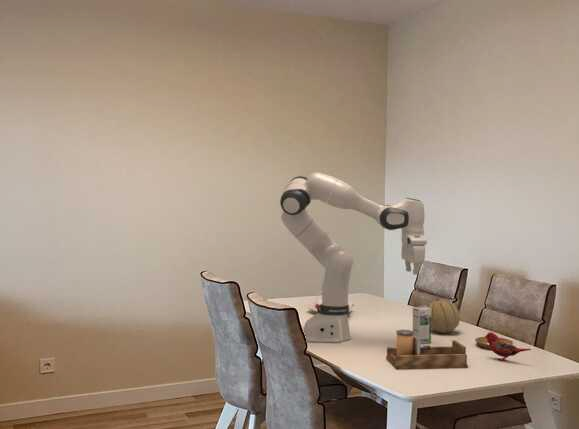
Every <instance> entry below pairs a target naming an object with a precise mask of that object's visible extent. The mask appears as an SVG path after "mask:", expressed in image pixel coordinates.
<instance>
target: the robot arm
mask: <svg viewBox="0 0 579 429" xmlns="http://www.w3.org/2000/svg"><path fill="white" fill-rule="evenodd" d="M283 190H284V191H283V193H282V195H281V196H280V201H279V204H280V207H281V210H282V212H281V213H282V214H281V216H280V217H281V221H282V223H283V225H284V226H285V228H286V229H287V230H288V231H289V232H290V233H291V235H292V236H294V238H296V240H297V241H298V242H299V243H300V244H301V245H302V246H303V247H305V248H306V250H307V251H308V252H309V254H311V255H312V257H314V259H315V260H316V261H318V263H319V264H320V265H321V267H323V268H324V269H325V270H324V277H323V282H322V284H321V285H322V287H321V295H322V304H321V305H319V304H316V305H315V308H316V309H317V312H316V313H315V314H314V315H312V317H311V316H310V318H309V319H307V320H305V323H304V326H303V331H304V333H305V336H306V340H307V341H306V343H308V342H311V343H313V342H314V343H315V342H316V343H342V342H344V341H349V340H351V338H352V335H351V331H350V325H349V317H350V310H349V305H348V301H349V285H350V284H349V283H350V278H351V273H352V267H353V264H354V261H353V256H352V254H351V253H350V251H348V249H346V248H343V247H341V246H339V244H337V242H335V240H334V239H333V238H332V237H331V236H330V234H329V233H328V232H327V230H326V229H325V228H324V227H323V226H322V225H321V224H320V223H318V221H317V220H315V218H314V217H313V216H312V215H311V214H309V212H308V211H307V209H306V208H307V207H308V206H309V205H310V204H311V201H314V200H317V201H320V202H322V203H323V204H326V205H329V206H331V207H334V208H337V209H342V210H353V211H357V212H359V213H361V214H364V215H365V216H368V217H370V218H372V219H374V220H375V222H377V223H378V224H379V225H380V226H381V227H382V229H383V228H384V229H386V230H388V231H396V230H399V229H401V259H402V260H404V264H405V271H406V272H411V271H412V274H413V275H415V276H418V275H419V269H420V265H424V263H425V261H426V260H425V257H426V245H428V244H427V242H428V240H427V239H426V236H425V229H424V224H425V206H424V203H423V201H421V200H420V199H416V198H412V197H411V198H410V197H405V198H404V199H402V200H401V201H399V202H397V203H395V204H391V205H390V204H381V203H377V202H375V201H373V200H370V199H368V198H366V197H364V196H362V195H361V194H360V193H358V192H357V191H356V190H355V189H354V187H352V186H351V185H349V184H348V183H347V182H346V181H345V182H344V181H343V180H341V179H339V178H336V177H335V176H331V175H328V174H325V173H323V172H317V171H316V172H313V173H311V174H310V175H309V176H308V177H307V176H303V175H298V176H295V177H293V178H292V179H291V180H290V181H289V183H288V184H287V185H286V186H285V188H284V189H283ZM411 264H413V269H412V267H411V266H412V265H411Z"/></svg>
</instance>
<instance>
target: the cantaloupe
mask: <svg viewBox="0 0 579 429" xmlns="http://www.w3.org/2000/svg"><path fill="white" fill-rule="evenodd" d="M428 307H429V308H431V330H432V331H434V332H436V333H441V334H447V333H450V332H452V331H454V330H455V329H457V328H458V326H459V324H460V321H461V316H460V311H459V309H458V308H457V306H456V305H455V304H454V303H453V302H452V301H450V300H447V299H440V298H436V299H435V301H433V302H432V303H431V304H430V305H429V306H428Z"/></svg>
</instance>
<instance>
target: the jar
mask: <svg viewBox="0 0 579 429" xmlns="http://www.w3.org/2000/svg"><path fill="white" fill-rule="evenodd" d="M413 338H414V332H413V330H410V329H397V330H396V347H397V351H396V355H413Z"/></svg>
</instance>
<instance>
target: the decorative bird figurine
mask: <svg viewBox="0 0 579 429" xmlns="http://www.w3.org/2000/svg"><path fill="white" fill-rule="evenodd" d="M484 337H486V338H487V341H488V343H489V346H490V348H491V349H490V350H491V351H492V352H493V353H494V354H495V355H497V356H500V357H502V358H500V357H494V359H495V360H498V361H504V362H506V361H507V362H508V361H509V360H508V359H507V358H508V357H512V356H516V355H517V354H519V353H521V352H526V351H531V350H532V348H519V347H517V346H515V345H513V344H510V343H508V342H505V341H503V340H501V339H500V338H501V337H499V336H498V335H497V334H495V333H494V332H492V331H489V332H487V333H486V335H485V336H484Z"/></svg>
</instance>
